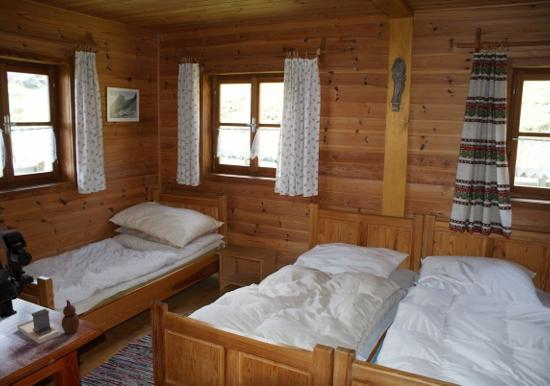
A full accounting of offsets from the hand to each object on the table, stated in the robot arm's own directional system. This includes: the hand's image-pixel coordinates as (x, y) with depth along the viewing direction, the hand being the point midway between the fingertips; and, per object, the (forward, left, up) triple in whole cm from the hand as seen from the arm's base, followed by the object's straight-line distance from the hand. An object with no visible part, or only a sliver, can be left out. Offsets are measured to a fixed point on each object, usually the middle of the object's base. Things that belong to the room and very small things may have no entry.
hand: (18, 295), depth 199 cm
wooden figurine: (+24, +9, -13) cm, 29 cm away
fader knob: (+18, 0, -11) cm, 21 cm away
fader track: (+14, 0, -13) cm, 19 cm away
